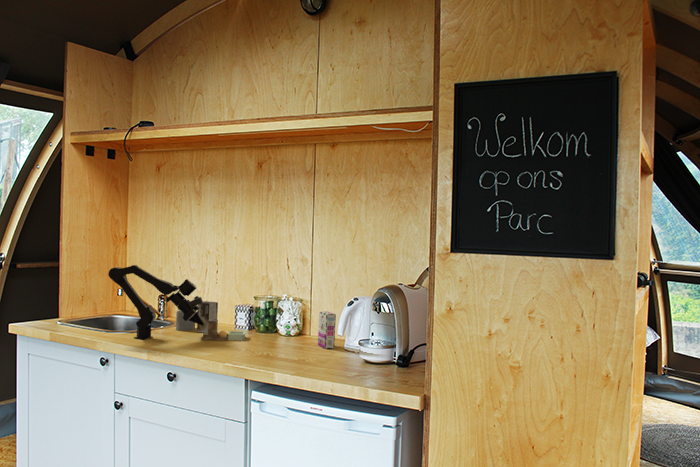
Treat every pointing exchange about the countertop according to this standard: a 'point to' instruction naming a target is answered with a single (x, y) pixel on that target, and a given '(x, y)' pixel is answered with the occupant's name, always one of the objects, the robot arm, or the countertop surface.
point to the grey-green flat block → (236, 335)
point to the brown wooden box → (212, 327)
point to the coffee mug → (183, 323)
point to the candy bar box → (326, 330)
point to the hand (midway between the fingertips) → (203, 324)
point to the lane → (205, 337)
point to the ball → (222, 334)
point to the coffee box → (207, 314)
